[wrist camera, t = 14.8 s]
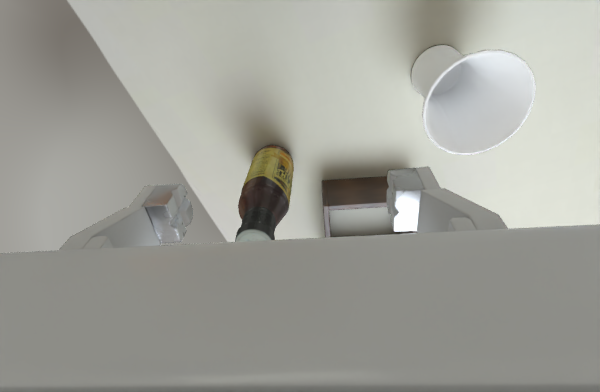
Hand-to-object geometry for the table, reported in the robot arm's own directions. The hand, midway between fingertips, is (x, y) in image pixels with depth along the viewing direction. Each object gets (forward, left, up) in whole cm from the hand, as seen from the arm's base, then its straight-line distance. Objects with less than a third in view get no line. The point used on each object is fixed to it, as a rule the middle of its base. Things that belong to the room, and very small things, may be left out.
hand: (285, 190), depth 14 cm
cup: (-17, +6, -35) cm, 40 cm away
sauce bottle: (+6, +17, -35) cm, 40 cm away
